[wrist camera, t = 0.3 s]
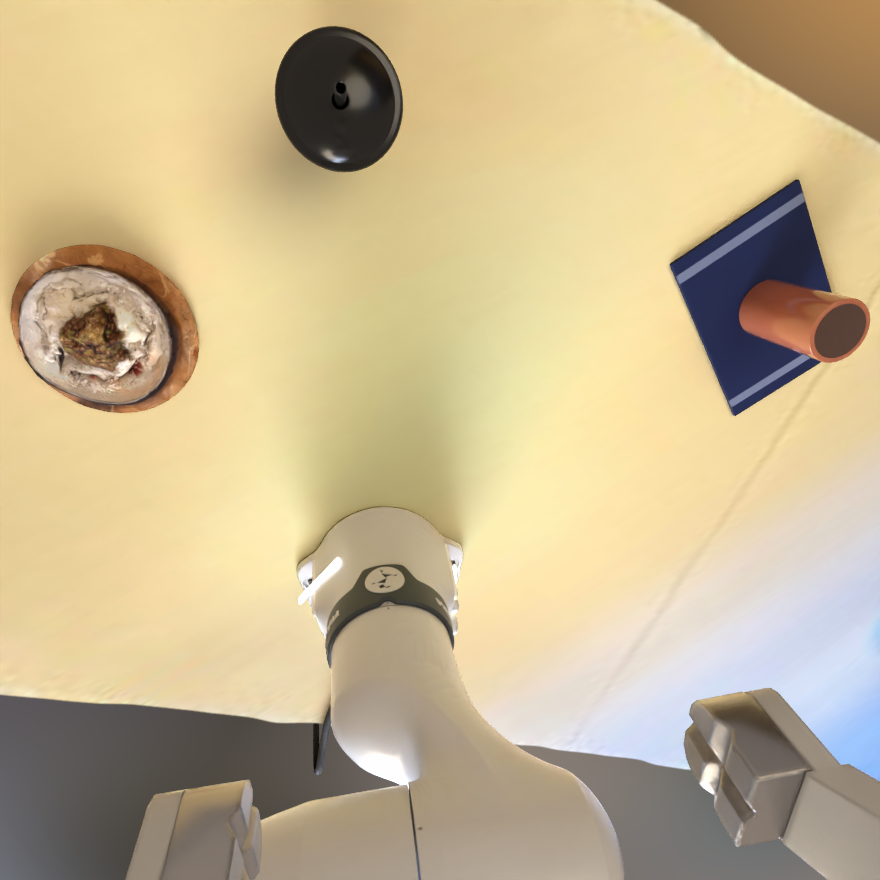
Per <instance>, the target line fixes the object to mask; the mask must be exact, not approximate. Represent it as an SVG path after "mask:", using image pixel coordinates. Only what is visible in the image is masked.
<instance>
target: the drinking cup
mask: <svg viewBox="0 0 880 880" xmlns="http://www.w3.org/2000/svg"><path fill="white" fill-rule="evenodd" d="M275 102H276V109H277V113H278V117H279V120H280V123H281V125H282V128H283V130H284V132H285V134H286V136H287V137H288V139H289V140H290V142H291V143H292V144H293V146H294V147H295V148H296V149H297V150H298V151H299V152H300V153H301V154H302V155H303V156H304V157H305V158H306V159H308V160H309V161H311V162H312V163H314V164H316V165H318V166H320V167H322V168H324V169H327V170H331V171H336V172H353V171H358V170H362V169H364V168H367V167H369V166H371V165H373V164H374V163H376V162H377V161H378V160H380V159H381V158H382V157H383V156H384V155H385V154H386V153H387V151H388V150H389V149H390V148H391V146H392V144H393V143H394V141H395V139H396V137H397V134H398V132H399V129H400V125H401V121H402V114H403V97H402V90H401V86H400V82H399V79H398V76H397V73H396V71H395V69H394V67H393V65H392V63H391V61H390V60H389V58H388V57H387V55H386V54H385V53H384V52H383V50H382V49H381V48H380V47H379V46H378V45H377V44H376V43H375V42H374V41H372V40H371V39H370V38H368V37H367V36H365V35H363V34H362V33H360V32H357V31H355V30H352V29H349V28H345V27H338V26H327V27H321V28H318V29H315V30H312V31H310V32H308V33H306V34H304V35H303V36H302V37H300V38H299V39H298V40H297V41H295V42H294V43H293V44H292V46H291V47H290V48H289V49H288V51H287V52H286V54H285V55H284V57H283V59H282V61H281V64H280V66H279V69H278V73H277V77H276V84H275Z"/></svg>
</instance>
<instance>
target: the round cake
mask: <svg viewBox="0 0 880 880" xmlns="http://www.w3.org/2000/svg"><path fill="white" fill-rule="evenodd" d="M11 322H12V329H13V334H14V336H15V338H16V341H17V344H18V347H19V349H20V351H21V352H22V355H23V356H24V358H25V360H26V361H27V362H28V364H29V365H30V367H31V368H32V369H33V371H34V372H35V373H36V375H37V376H39V377H40V378H41V379H42V380H44V381H45V382H46V383H47V384H48V385H50V386H51V387H52V388H54V389H55V390H57V391H58V392H59V393H61V394H62V395H64V396H66V397H68V398H69V399H71V400H73V401H75V402H77V403H79V404H82V405H84V406H87V407H90V408H94V409H98V410H102V411H107V412H119V413H125V412H137V411H143V410H147V409H150V408H153V407H156V406H158V405H160V404H162V403H164V402H166V401H168V400H169V399H171V398H172V397H173V396H175V395H176V394H177V393H178V392H179V391H180V390H181V389H182V388H183V387H184V386H185V384H186V383H187V382H188V380H189V378H190V377H191V375H192V373H193V371H194V368H195V365H196V362H197V358H198V349H199V348H198V333H197V328H196V324H195V320H194V317H193V315H192V313H191V310H190V308H189V306H188V304H187V302H186V300H185V299H184V297H183V296H182V294H181V293H180V292H179V290H178V289H177V287H175V285H174V284H173V283H172V282H171V281H170V280H169V279H168V278H167V277H166V276H165V275H164V274H162V273H161V272H160V271H159V270H158V269H156V268H155V267H153V266H152V265H150V264H149V263H147V262H145V261H144V260H142V259H140V258H138V257H136V256H135V255H132V254H129V253H127V252H124V251H121V250H118V249H114V248H110V247H105V246H98V245H76V246H70V247H65V248H61V249H58V250H55V251H53V252H51V253H49V254H47V255H45V256H43V257H42V258H40V259H38V260H37V261H36V262H34V263H33V264H32V265H31V266H30V267H29V268H28V269H27V270H26V271H25V273H24V274H23V275H22V277H21V278H20V280H19V282H18V284H17V286H16V289H15V291H14V294H13V298H12V306H11ZM126 327H127V328H126Z"/></svg>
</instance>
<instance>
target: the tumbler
mask: <svg viewBox="0 0 880 880" xmlns="http://www.w3.org/2000/svg"><path fill="white" fill-rule="evenodd" d="M739 320H740V324H741V326H742V328H743V329H744V330H745V331H746V332H747V333H749V334H751V335H754V336H756V337H759V338H762V339H764V340H767V341H769V342H772V343H775V344H777V345H780V346H782V347H785V348H788V349H790V350H793V351H795V352H798V353H801V354H803V355H806V356H808V357H811V358H813V359H816V360H819V361H821V362H826V363H831V362H837V361H840V360H842V359H844V358H846V357H848V356H849V355H851V354H852V353H853V352H854V351H855V350H856V349H857V348H858V347H859V346H860V345H861V343H862V342H863V340H864V338H865V337H866V335H867V332H868V329H869V325H870V314H869V311H868V308H867V307H866V305H865V304H864V303H863V302H862V301H860V300H858V299H854V298H850V297H846V296H842V295H838V294H833V293H829V292H825V291H821V290H817V289H813V288H808V287H804V286H800V285H796V284H792V283H788V282H783V281H779V280H766V281H763V282H761V283H759V284H757V285H756V286H754V287H753V288H752V289H751V290H750V291H749V292H748V293H747V294H746V296H745V297H744V299H743V301H742V303H741V306H740V310H739Z"/></svg>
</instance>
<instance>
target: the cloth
mask: <svg viewBox="0 0 880 880" xmlns="http://www.w3.org/2000/svg"><path fill="white" fill-rule="evenodd" d="M670 266H671V269H672V271H673V273H674V276H675V278H676V280H677V283H678V285H679V288H680V290H681V292H682V295H683V297H684V299H685V302H686V304H687V307H688V309H689V311H690V314H691V316H692V318H693V321H694V323H695V325H696V328H697V330H698V333H699V335H700V337H701V340H702V342H703V344H704V347H705V349H706V351H707V354H708V356H709V359H710V361H711V363H712V366H713V368H714V370H715V373H716V375H717V377H718V380H719V382H720V385H721V387H722V389H723V392H724V394H725V396H726V399H727V401H728V404H729V406H730V408H731V411H732V413H733V415H735V416H736V415H738V414H739V413H741V412H742V411H744V410H746V409H747V408H749V407H750V406H752V405H753V404H755V403H757V402H758V401H760V400H761V399H763V398H765V397H766V396H768V395H769V394H771V393H773V392H774V391H776V390H777V389H779V388H781V387H782V386H784V385H785V384H787V383H789V382H790V381H792V380H793V379H795V378H797V377H798V376H800V375H801V374H803V373H804V372H806V371H808V370H809V369H811V368H812V367H814V366H816V365H817V364H819V363H820V362H821V361H819V360H816V359H813V358H811V357H808V356H806V355H803V354H801V353H798V352H795V351H793V350H790V349H788V348H785V347H782V346H780V345H777V344H775V343H772V342H769V341H767V340H764V339H762V338H759V337H756V336H754V335H751V334H749V333H747V332H746V331H745V330H744V329H743V328H742V326H741V324H740V320H739V310H740V306H741V303H742V301H743V299H744V297H745V296H746V294H747V293H748V292H749V291H750V290H751V289H752V288H753V287H754V286H756V285H757V284H759V283H761V282H763V281H766V280H779V281H783V282H788V283H792V284H796V285H800V286H804V287H808V288H813V289H817V290H821V291H825V292H829V293H831V289H830V286H829V282H828V279H827V275H826V272H825V268H824V265H823V261H822V258H821V254H820V251H819V247H818V244H817V240H816V237H815V233H814V230H813V226H812V223H811V219H810V216H809V212H808V209H807V205H806V202H805V198H804V195H803V191H802V188H801V184H800V181H799V180H795V181H794V182H792V183H791V184H789V185H788V186H786V187H785V188H783V189H782V190H780V191H779V192H777V193H776V194H774V195H773V196H771V197H770V198H768V199H767V200H765V201H764V202H762V203H761V204H759V205H758V206H756V207H755V208H753V209H752V210H750V211H749V212H747V213H746V214H744V215H743V216H741V217H740V218H738V219H737V220H735V221H734V222H732V223H731V224H729V225H728V226H726V227H725V228H723V229H722V230H720V231H719V232H717V233H716V234H714V235H713V236H711V237H710V238H708V239H707V240H705V241H704V242H702V243H701V244H699V245H698V246H696V247H695V248H693V249H692V250H690V251H689V252H687V253H686V254H684V255H683V256H681V257H680V258H678V259H677V260H675V261H674V262H672V263H671V264H670Z"/></svg>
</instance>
